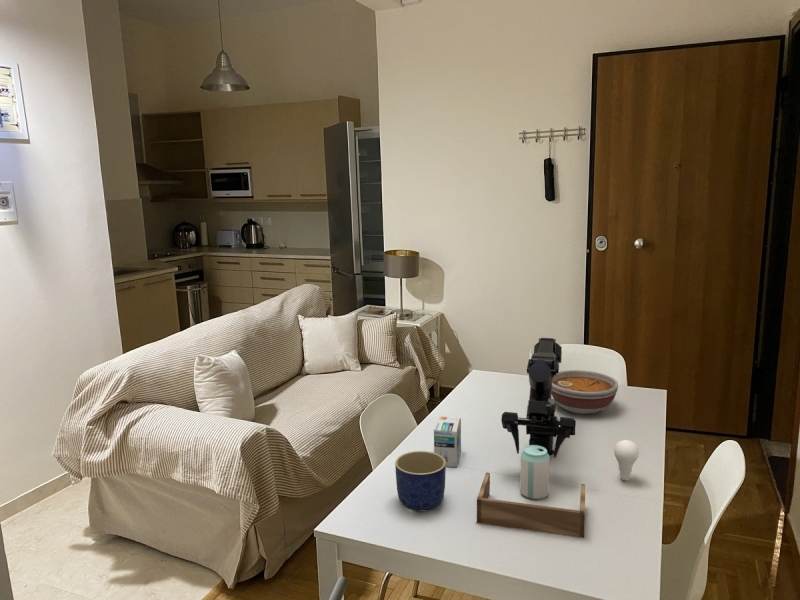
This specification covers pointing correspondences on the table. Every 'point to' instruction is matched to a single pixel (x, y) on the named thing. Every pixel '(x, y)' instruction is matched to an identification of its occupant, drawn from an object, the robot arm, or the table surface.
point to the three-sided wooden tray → (530, 514)
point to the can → (534, 472)
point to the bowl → (583, 391)
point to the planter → (420, 480)
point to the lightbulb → (626, 457)
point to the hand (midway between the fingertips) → (536, 455)
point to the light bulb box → (448, 439)
